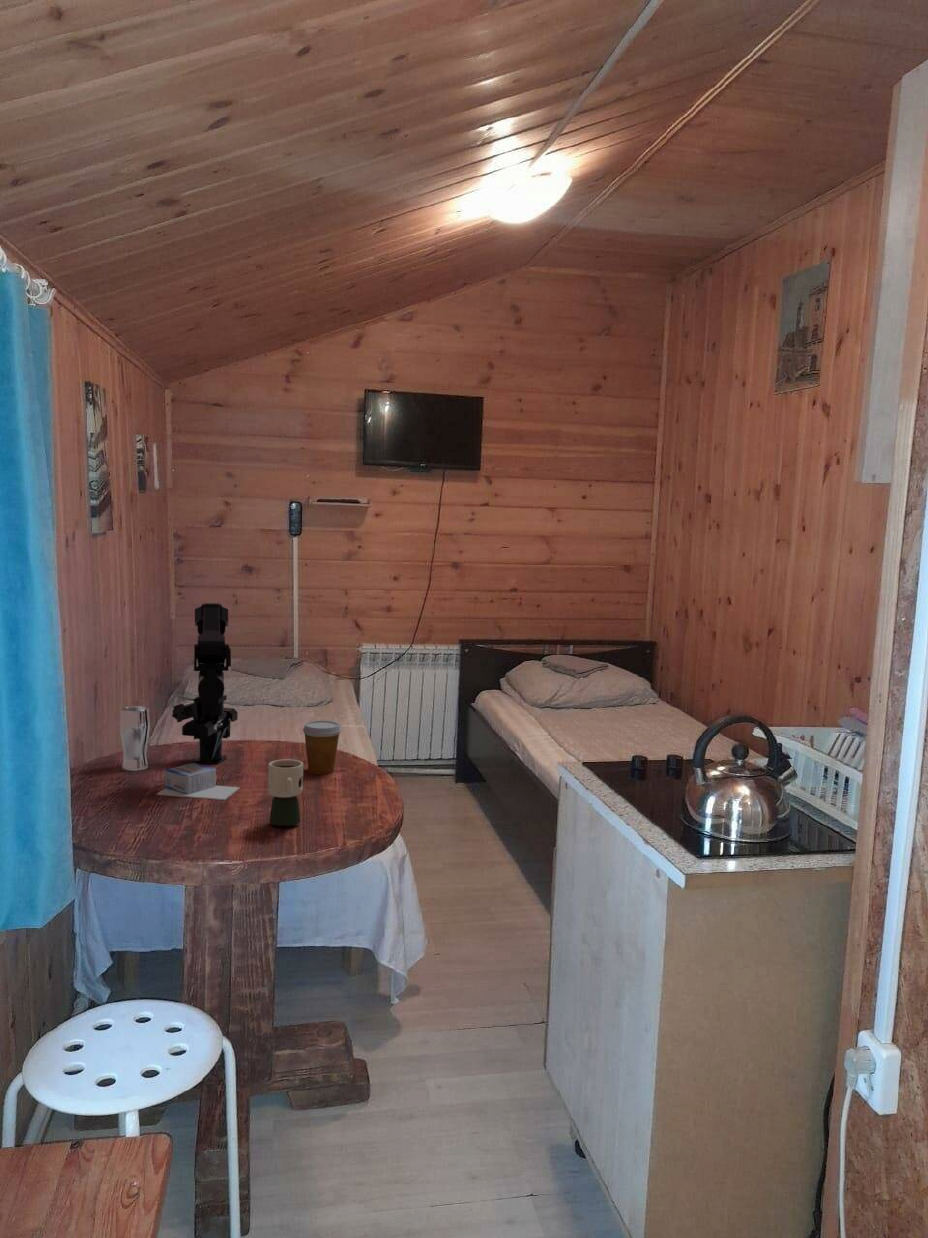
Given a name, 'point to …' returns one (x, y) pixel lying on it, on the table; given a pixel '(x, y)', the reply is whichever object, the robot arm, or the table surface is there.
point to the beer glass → (134, 736)
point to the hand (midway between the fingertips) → (210, 757)
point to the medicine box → (190, 778)
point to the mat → (204, 793)
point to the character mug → (285, 791)
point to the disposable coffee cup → (321, 745)
